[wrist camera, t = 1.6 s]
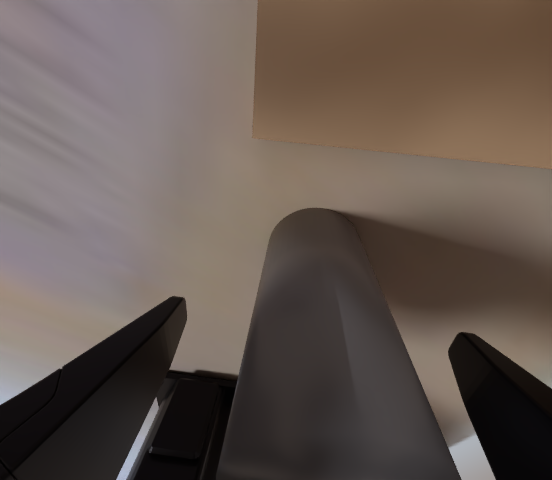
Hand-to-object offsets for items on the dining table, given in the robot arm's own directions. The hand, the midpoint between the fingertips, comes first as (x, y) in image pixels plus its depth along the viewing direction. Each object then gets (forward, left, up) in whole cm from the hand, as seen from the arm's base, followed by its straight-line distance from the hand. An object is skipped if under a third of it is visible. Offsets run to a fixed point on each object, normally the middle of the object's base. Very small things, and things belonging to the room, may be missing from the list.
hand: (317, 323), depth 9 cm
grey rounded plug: (0, 0, -5) cm, 5 cm away
